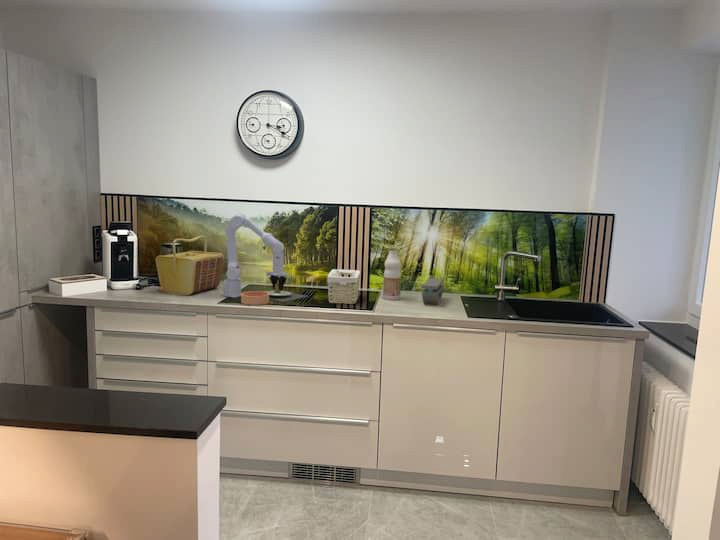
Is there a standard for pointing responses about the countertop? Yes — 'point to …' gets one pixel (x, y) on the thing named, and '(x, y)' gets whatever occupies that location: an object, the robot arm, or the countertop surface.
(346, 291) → the storage basket
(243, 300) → the bowl
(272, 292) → the lid
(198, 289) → the picnic basket
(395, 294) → the fruit juice
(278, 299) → the rubber mat
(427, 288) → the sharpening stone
